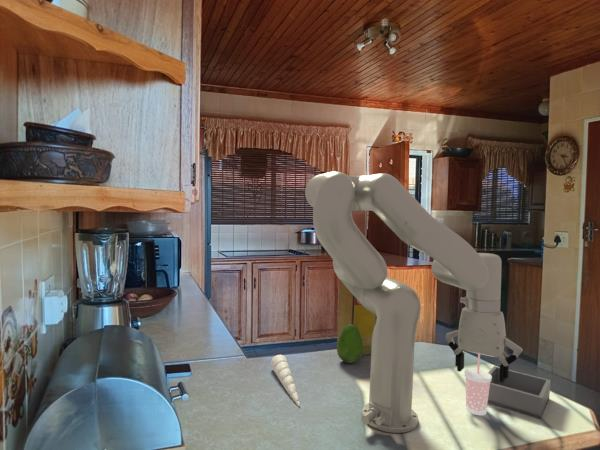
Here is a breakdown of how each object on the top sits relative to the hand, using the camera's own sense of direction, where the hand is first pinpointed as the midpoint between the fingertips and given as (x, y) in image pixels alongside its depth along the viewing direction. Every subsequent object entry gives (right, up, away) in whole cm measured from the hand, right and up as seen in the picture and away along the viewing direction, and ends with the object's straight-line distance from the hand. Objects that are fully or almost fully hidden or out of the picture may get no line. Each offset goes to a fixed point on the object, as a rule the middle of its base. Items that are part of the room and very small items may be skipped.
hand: (480, 374), depth 99 cm
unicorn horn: (-47, -7, +11) cm, 49 cm away
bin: (+12, -9, +7) cm, 16 cm away
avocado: (-28, -7, +28) cm, 41 cm away
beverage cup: (-1, -9, 0) cm, 9 cm away
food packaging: (-25, -6, +41) cm, 48 cm away
